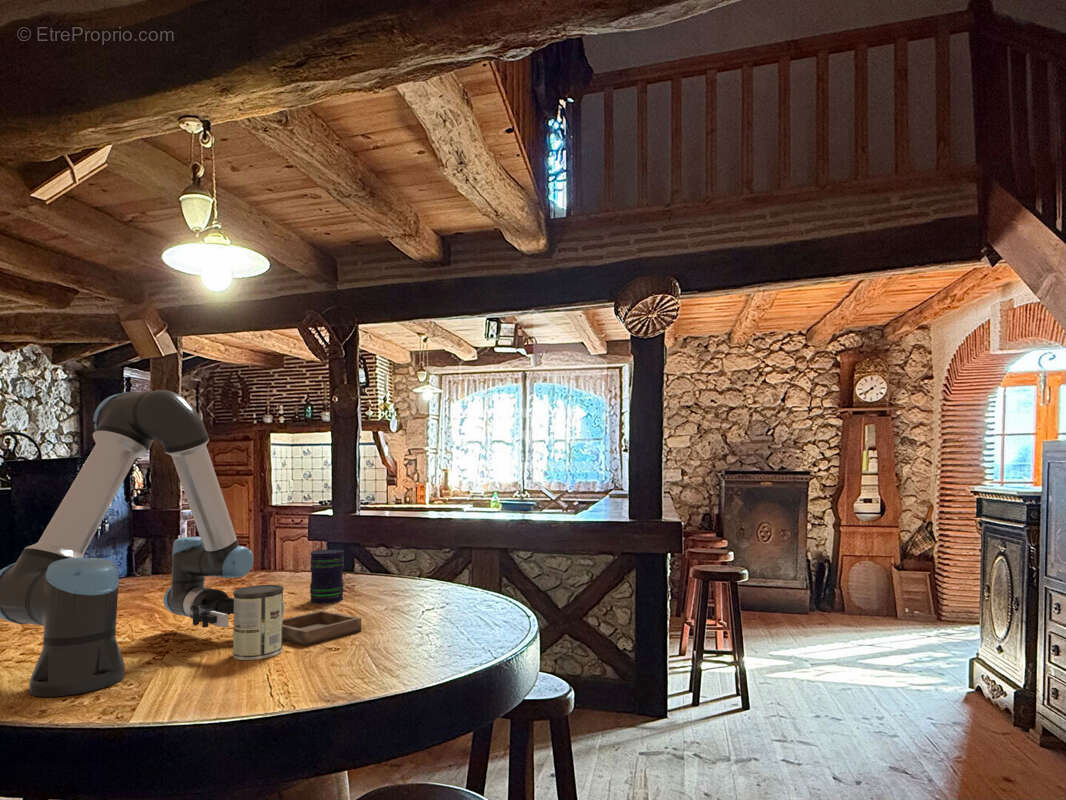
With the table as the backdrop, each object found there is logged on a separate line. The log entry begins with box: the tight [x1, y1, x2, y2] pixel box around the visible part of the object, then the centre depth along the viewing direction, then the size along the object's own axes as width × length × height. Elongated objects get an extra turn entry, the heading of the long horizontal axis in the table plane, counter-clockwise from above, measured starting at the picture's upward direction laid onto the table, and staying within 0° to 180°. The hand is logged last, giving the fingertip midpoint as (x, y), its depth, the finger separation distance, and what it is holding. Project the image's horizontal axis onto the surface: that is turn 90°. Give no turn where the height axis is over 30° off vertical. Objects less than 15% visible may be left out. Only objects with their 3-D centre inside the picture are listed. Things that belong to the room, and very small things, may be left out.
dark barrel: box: [309, 548, 345, 605], centre depth 200 cm, size 10×10×15 cm
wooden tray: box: [282, 609, 362, 647], centre depth 160 cm, size 16×16×3 cm
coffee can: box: [232, 584, 284, 661], centre depth 144 cm, size 10×10×14 cm
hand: (255, 614), depth 147 cm, fingers open, 13 cm apart
